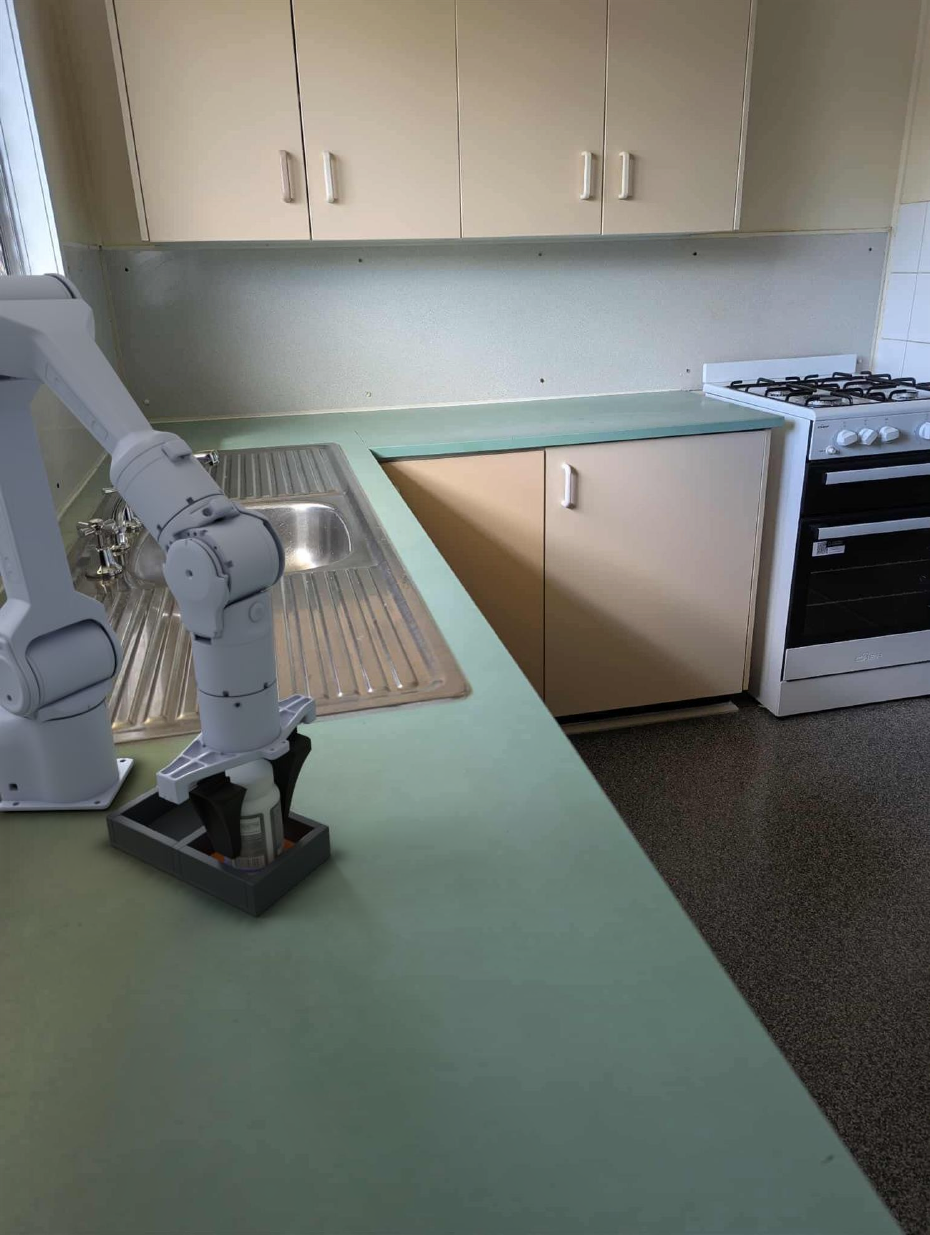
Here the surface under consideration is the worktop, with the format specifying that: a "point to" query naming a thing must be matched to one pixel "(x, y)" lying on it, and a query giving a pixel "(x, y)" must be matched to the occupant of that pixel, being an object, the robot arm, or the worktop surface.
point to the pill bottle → (258, 817)
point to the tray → (188, 854)
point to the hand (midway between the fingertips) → (252, 835)
